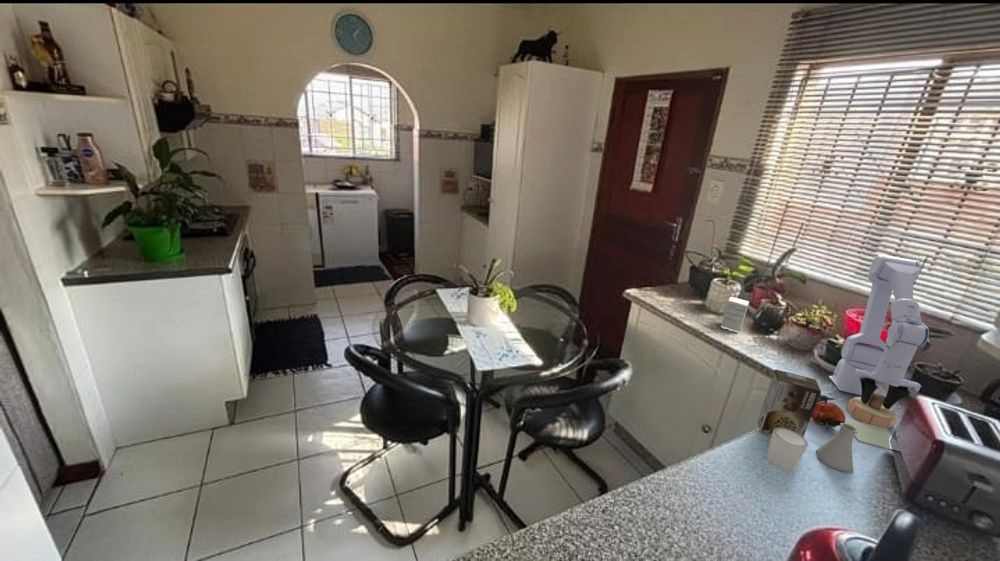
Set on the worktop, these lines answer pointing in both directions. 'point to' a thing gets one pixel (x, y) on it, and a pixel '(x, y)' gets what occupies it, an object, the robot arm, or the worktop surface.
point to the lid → (874, 406)
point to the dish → (869, 417)
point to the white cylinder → (786, 448)
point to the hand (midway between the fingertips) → (874, 404)
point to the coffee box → (788, 403)
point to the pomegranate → (828, 414)
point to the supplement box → (735, 313)
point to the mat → (870, 434)
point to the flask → (839, 449)
